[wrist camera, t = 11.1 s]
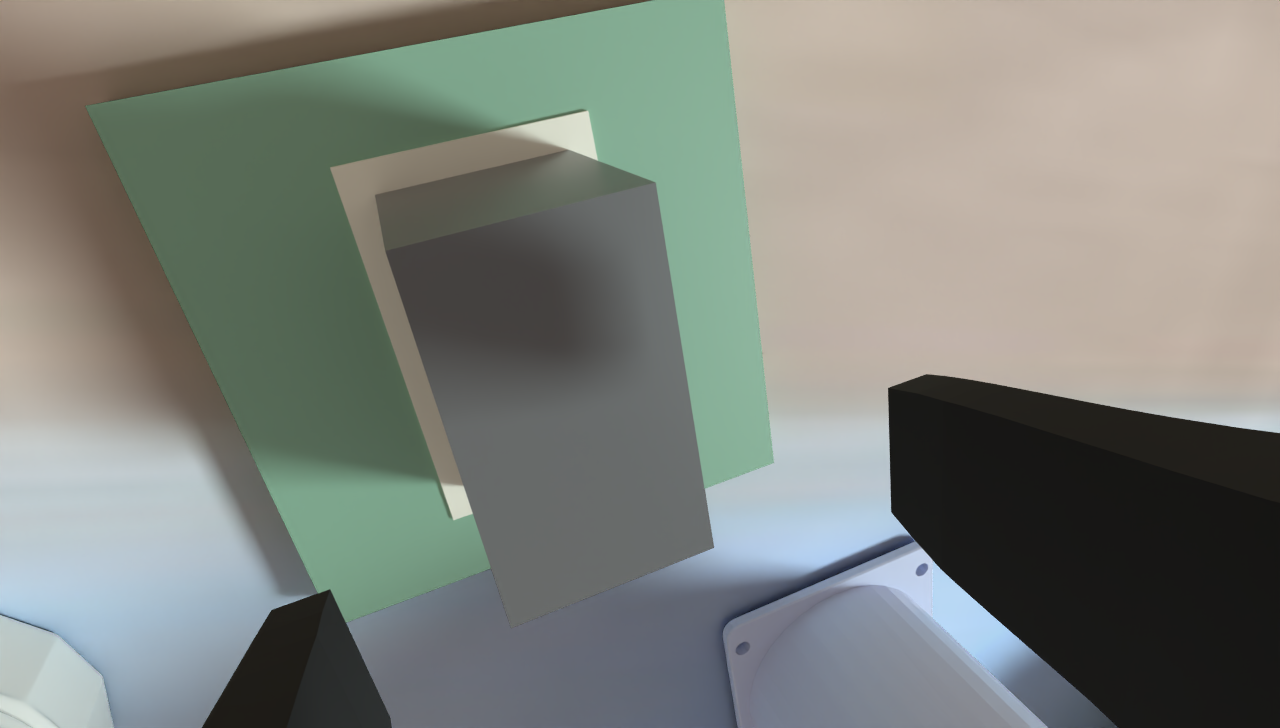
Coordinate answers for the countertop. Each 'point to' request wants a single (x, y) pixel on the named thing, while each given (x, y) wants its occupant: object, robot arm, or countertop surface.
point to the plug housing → (554, 370)
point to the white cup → (47, 682)
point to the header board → (362, 277)
